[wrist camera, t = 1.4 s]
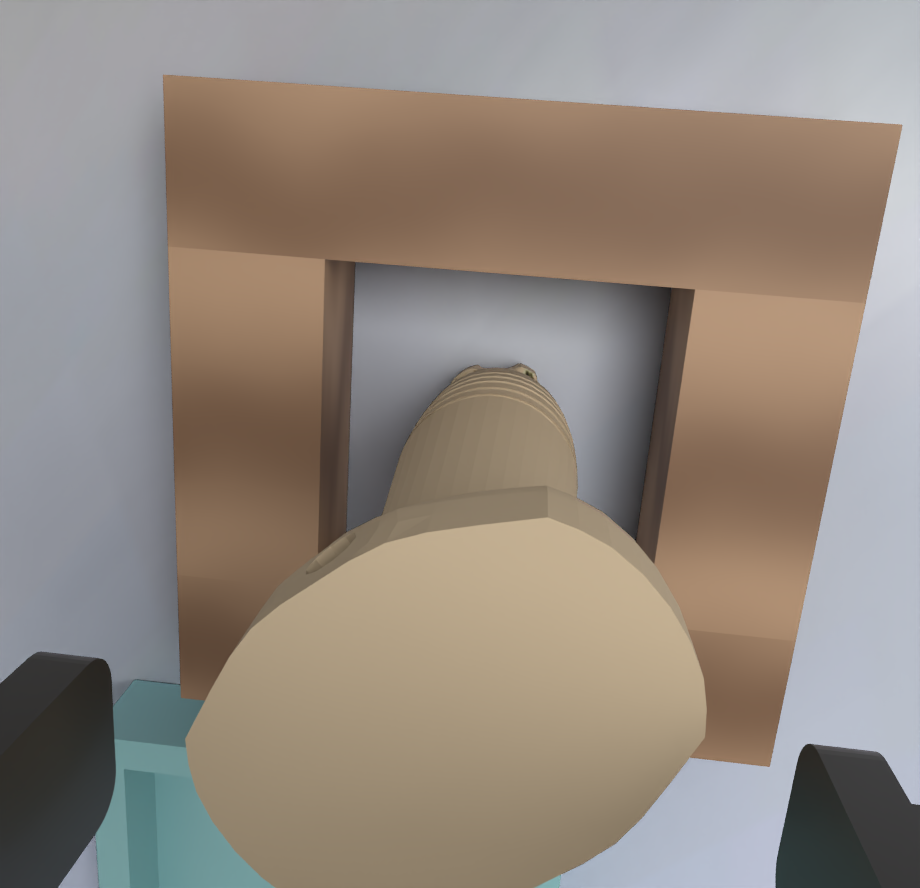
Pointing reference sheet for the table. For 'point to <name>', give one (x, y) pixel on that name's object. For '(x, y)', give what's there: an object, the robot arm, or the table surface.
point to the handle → (455, 673)
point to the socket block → (530, 254)
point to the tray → (164, 803)
